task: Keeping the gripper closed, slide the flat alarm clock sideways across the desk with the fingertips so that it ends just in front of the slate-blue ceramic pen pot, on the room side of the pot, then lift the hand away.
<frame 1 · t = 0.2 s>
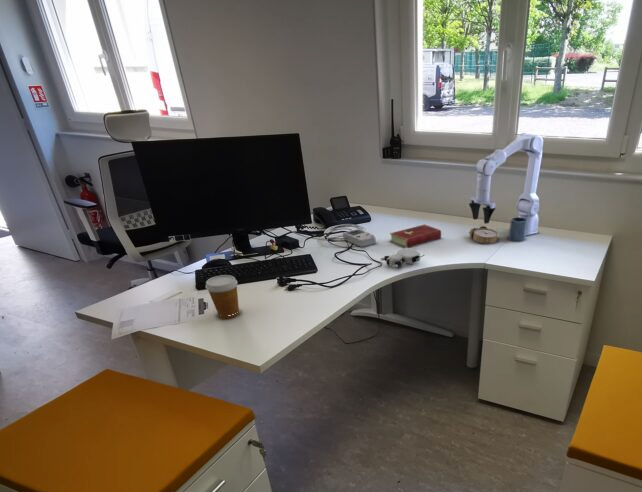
hand: (480, 221, 203), 10 cm above the table, tool pointing down, fingers open, 7 cm apart
handheld gaming device: (360, 242, 210), on the table
robot toy: (402, 264, 186), on the table
hardcover book: (415, 240, 212), on the table
pen pot: (516, 238, 213), on the table
disposable coffee cup: (229, 314, 149), on the table
alarm clock: (482, 239, 213), on the table
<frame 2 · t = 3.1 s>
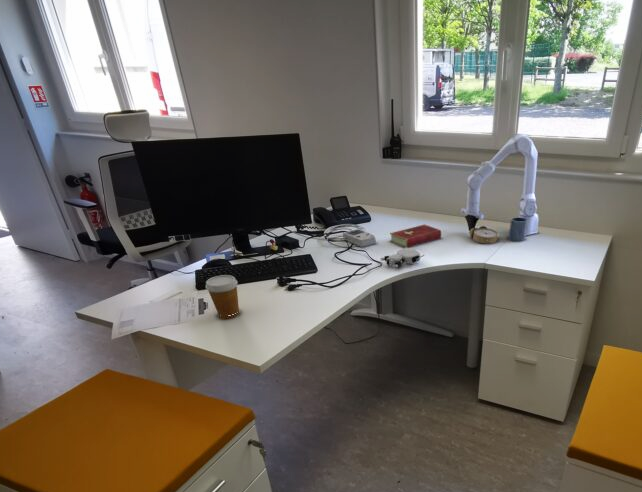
hand: (471, 230, 218), 2 cm above the table, tool pointing down, fingers closed
alarm clock: (482, 239, 213), on the table, touching gripper
everything else where it was.
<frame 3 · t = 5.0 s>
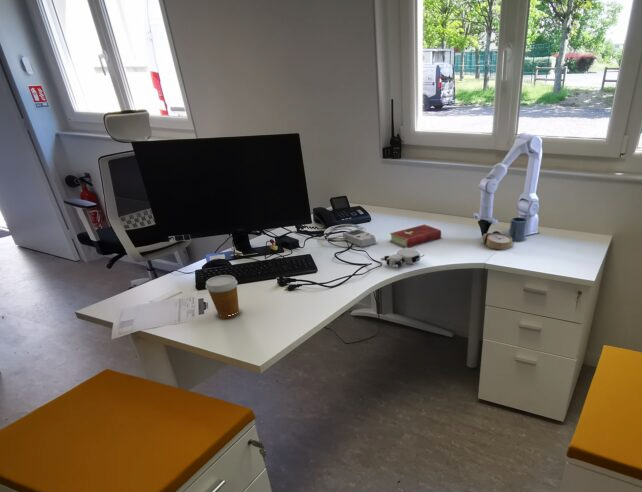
hand: (484, 236, 211), 2 cm above the table, tool pointing down, fingers closed
alarm clock: (496, 244, 206), on the table, touching gripper
everything else where it was.
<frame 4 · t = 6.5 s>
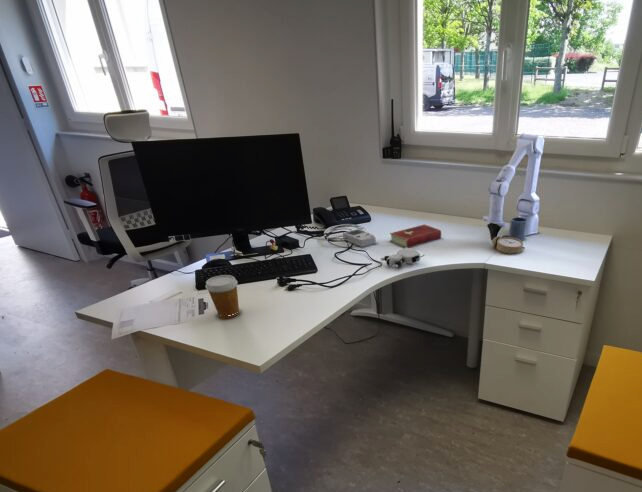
hand: (493, 239, 206), 2 cm above the table, tool pointing down, fingers closed
alarm clock: (506, 248, 201), on the table, touching gripper
everything else where it was.
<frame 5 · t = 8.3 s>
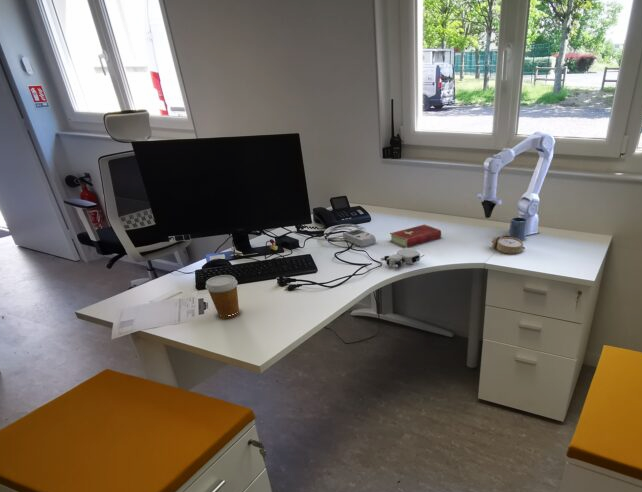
hand: (487, 217, 210), 9 cm above the table, tool pointing down, fingers closed
alarm clock: (506, 249, 201), on the table
everything else where it was.
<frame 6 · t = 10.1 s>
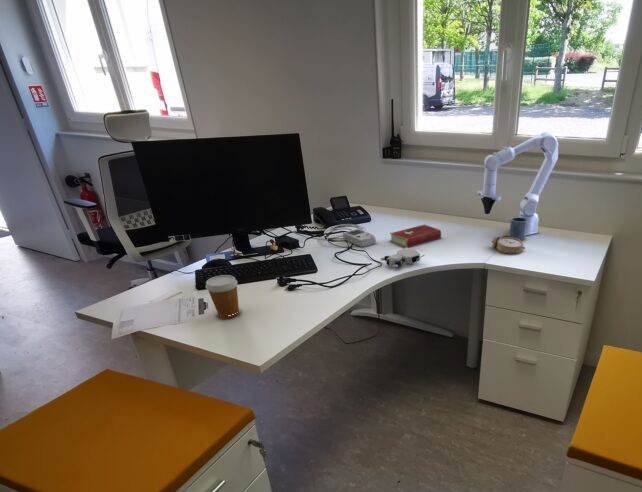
hand: (487, 213, 215), 9 cm above the table, tool pointing down, fingers closed
nothing on the table moved.
at the end: alarm clock inside the target area on the table beside the pen pot (1.2 cm from its centre), on the table; alarm clock moved 15.9 cm from its start; alarm clock tilted 2° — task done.
